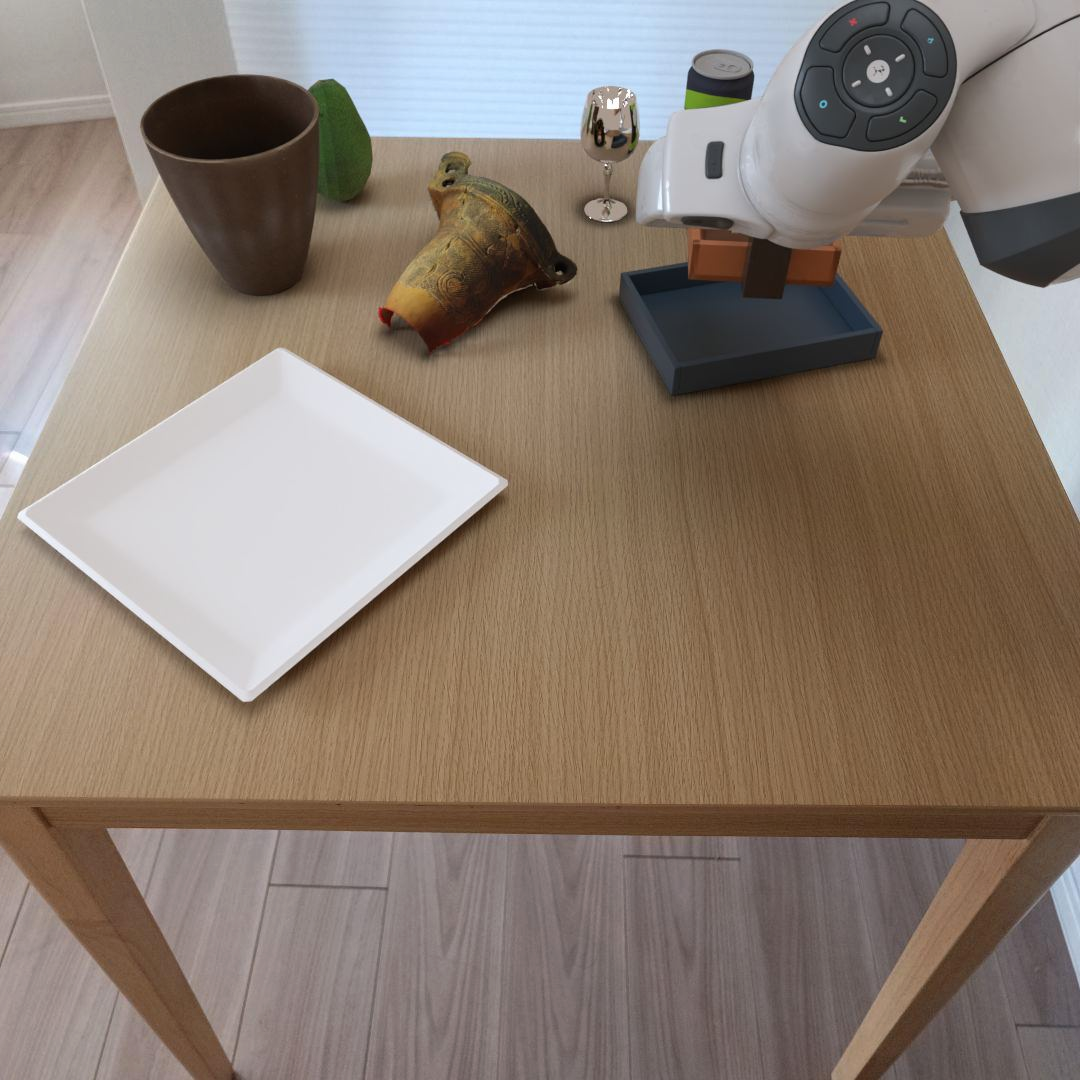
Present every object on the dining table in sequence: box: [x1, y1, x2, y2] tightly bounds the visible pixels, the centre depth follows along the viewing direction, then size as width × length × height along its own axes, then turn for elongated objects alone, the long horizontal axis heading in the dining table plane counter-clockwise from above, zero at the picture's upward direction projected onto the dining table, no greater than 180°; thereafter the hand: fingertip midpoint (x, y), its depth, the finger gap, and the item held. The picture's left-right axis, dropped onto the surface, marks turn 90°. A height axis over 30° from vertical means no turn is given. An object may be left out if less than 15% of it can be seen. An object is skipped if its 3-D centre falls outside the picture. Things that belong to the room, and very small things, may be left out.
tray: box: [618, 261, 884, 396], centre depth 99 cm, size 19×14×3 cm
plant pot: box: [139, 73, 319, 296], centre depth 99 cm, size 15×15×16 cm
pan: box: [686, 228, 843, 299], centre depth 83 cm, size 13×11×10 cm
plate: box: [16, 347, 509, 703], centre depth 83 cm, size 26×26×2 cm
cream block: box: [703, 229, 749, 242], centre depth 86 cm, size 4×4×4 cm
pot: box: [377, 151, 579, 355], centre depth 99 cm, size 17×11×18 cm
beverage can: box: [683, 48, 755, 110], centre depth 108 cm, size 6×6×15 cm
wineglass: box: [579, 85, 641, 223], centre depth 108 cm, size 6×6×12 cm
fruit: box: [307, 78, 374, 203], centre depth 110 cm, size 8×8×12 cm
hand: (772, 223), depth 80 cm, fingers closed on pan, 3 cm apart
